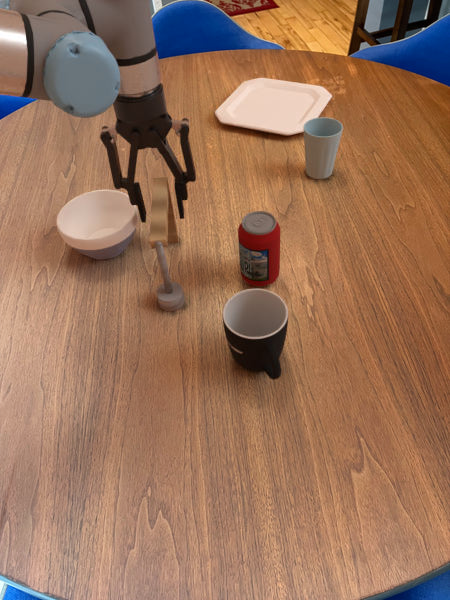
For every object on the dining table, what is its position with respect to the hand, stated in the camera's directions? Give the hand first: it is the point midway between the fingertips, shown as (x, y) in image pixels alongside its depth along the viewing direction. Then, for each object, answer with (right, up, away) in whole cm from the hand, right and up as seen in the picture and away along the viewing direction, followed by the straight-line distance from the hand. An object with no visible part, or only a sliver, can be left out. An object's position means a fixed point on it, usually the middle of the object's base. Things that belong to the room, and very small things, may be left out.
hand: (163, 215), depth 85 cm
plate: (+23, +33, +36) cm, 54 cm away
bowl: (-12, -4, +7) cm, 14 cm away
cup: (+31, +12, +18) cm, 38 cm away
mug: (+16, -24, -13) cm, 32 cm away
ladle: (+2, -10, +1) cm, 10 cm away
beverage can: (+17, -11, -1) cm, 20 cm away
